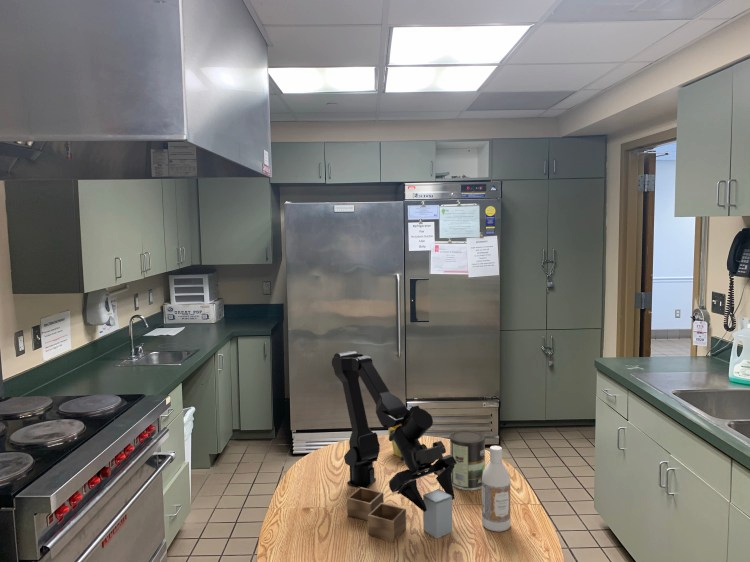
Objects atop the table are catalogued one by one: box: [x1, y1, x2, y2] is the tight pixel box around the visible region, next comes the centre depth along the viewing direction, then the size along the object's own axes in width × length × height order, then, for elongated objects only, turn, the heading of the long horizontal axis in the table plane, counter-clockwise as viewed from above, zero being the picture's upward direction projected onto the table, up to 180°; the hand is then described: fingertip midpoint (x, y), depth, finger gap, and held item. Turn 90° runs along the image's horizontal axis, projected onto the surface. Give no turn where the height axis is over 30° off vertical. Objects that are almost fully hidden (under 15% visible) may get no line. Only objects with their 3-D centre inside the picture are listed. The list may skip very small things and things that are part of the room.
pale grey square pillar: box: [422, 488, 453, 539], centre depth 131 cm, size 5×5×9 cm
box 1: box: [346, 487, 385, 523], centre depth 139 cm, size 7×7×5 cm
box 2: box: [367, 503, 407, 543], centre depth 131 cm, size 7×7×5 cm
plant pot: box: [387, 425, 402, 458], centre depth 178 cm, size 10×10×10 cm
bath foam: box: [481, 445, 511, 532], centre depth 132 cm, size 7×7×20 cm
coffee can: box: [448, 429, 486, 491], centre depth 156 cm, size 10×10×14 cm
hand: (439, 505), depth 130 cm, fingers open, 9 cm apart
